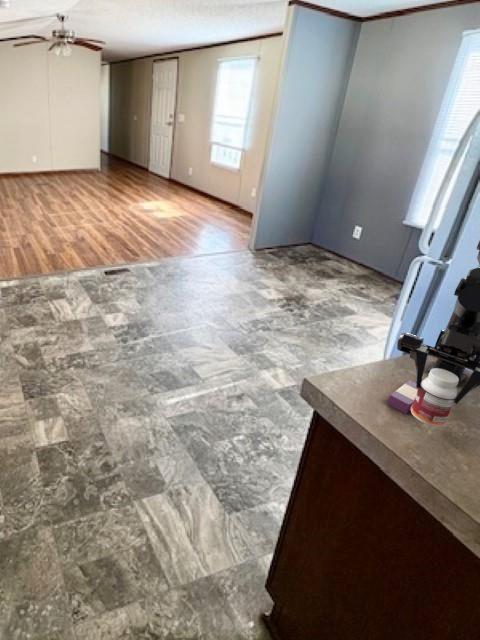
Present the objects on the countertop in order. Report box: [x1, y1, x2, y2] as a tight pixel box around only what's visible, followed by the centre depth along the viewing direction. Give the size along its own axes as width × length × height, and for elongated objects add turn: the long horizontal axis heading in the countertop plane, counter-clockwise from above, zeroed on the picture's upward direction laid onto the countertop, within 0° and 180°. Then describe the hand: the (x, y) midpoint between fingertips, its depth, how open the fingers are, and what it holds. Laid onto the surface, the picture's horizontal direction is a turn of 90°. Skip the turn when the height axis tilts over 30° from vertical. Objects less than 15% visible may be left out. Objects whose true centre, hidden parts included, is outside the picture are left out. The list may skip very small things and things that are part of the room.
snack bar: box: [386, 380, 418, 414], centre depth 99 cm, size 10×4×2 cm, turn 123°
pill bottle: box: [410, 368, 459, 427], centre depth 88 cm, size 6×6×11 cm
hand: (435, 395), depth 86 cm, fingers closed on pill bottle, 6 cm apart
